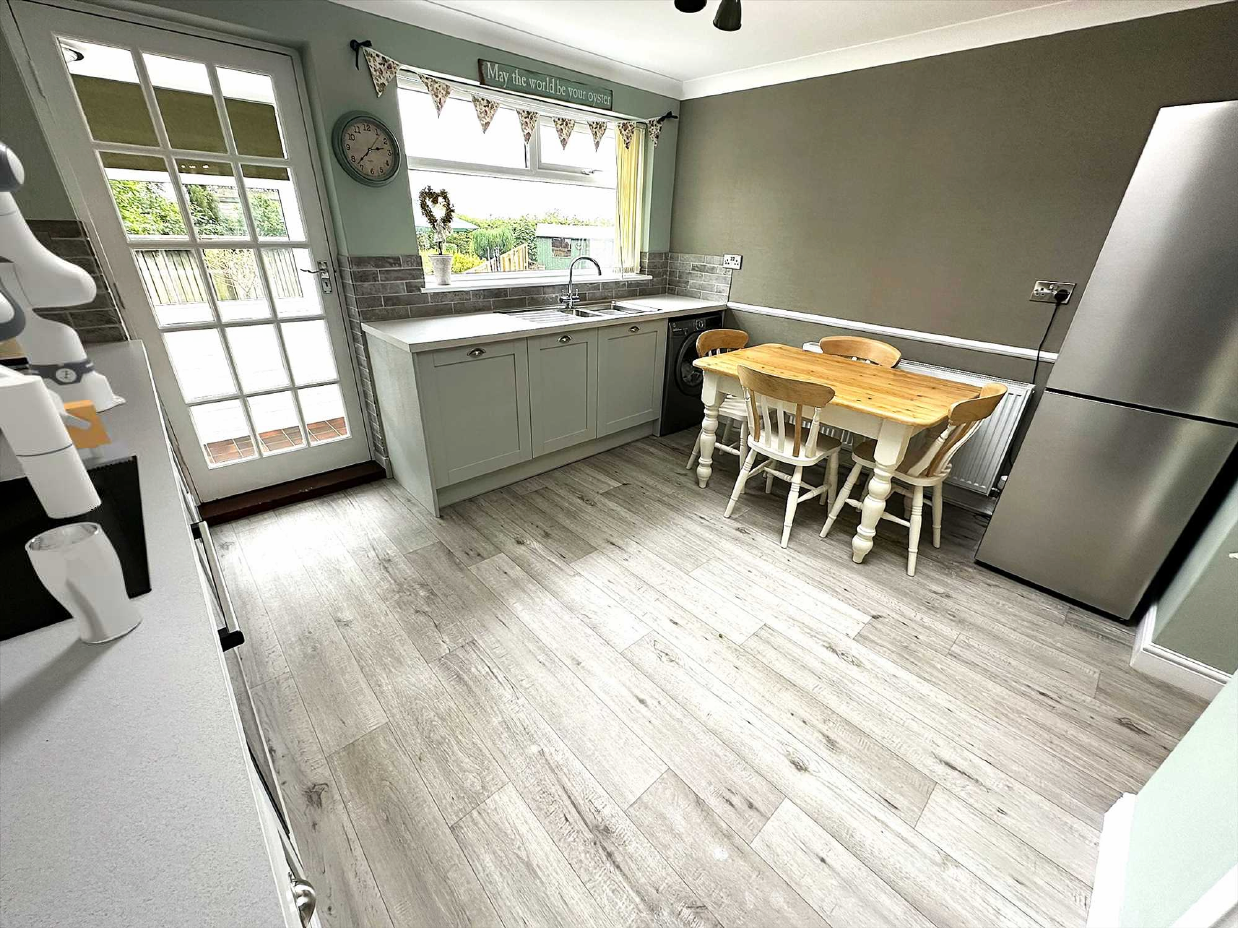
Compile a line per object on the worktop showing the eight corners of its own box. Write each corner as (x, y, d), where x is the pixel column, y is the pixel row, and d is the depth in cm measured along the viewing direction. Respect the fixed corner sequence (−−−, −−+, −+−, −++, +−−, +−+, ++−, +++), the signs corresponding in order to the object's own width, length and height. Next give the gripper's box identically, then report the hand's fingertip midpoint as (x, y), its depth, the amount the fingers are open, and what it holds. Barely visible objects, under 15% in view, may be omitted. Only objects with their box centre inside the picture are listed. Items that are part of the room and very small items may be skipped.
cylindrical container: (67, 520, 91) (-2, 388, 80) (37, 515, 92) (-35, 385, 81) (111, 501, 97) (52, 377, 86) (82, 497, 98) (20, 374, 87)
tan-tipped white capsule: (92, 457, 112) (81, 432, 109) (103, 454, 113) (92, 430, 111) (93, 459, 111) (82, 434, 108) (104, 457, 112) (93, 432, 110)
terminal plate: (65, 457, 114) (63, 453, 113) (124, 445, 121) (122, 441, 120) (71, 473, 107) (69, 469, 106) (133, 459, 114) (131, 455, 113)
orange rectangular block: (73, 443, 110) (55, 404, 106) (106, 436, 114) (90, 399, 110) (76, 449, 107) (57, 410, 103) (110, 443, 111) (93, 404, 107)
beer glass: (76, 626, 68) (24, 534, 61) (144, 603, 72) (101, 515, 66) (77, 655, 63) (20, 560, 57) (149, 628, 68) (103, 537, 61)
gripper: (10, 386, 93) (103, 422, 103) (6, 366, 104) (90, 400, 115) (-15, 414, 91) (83, 447, 102) (-15, 390, 103) (72, 423, 114)
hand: (87, 422), depth 109 cm, fingers closed on orange rectangular block, 5 cm apart
